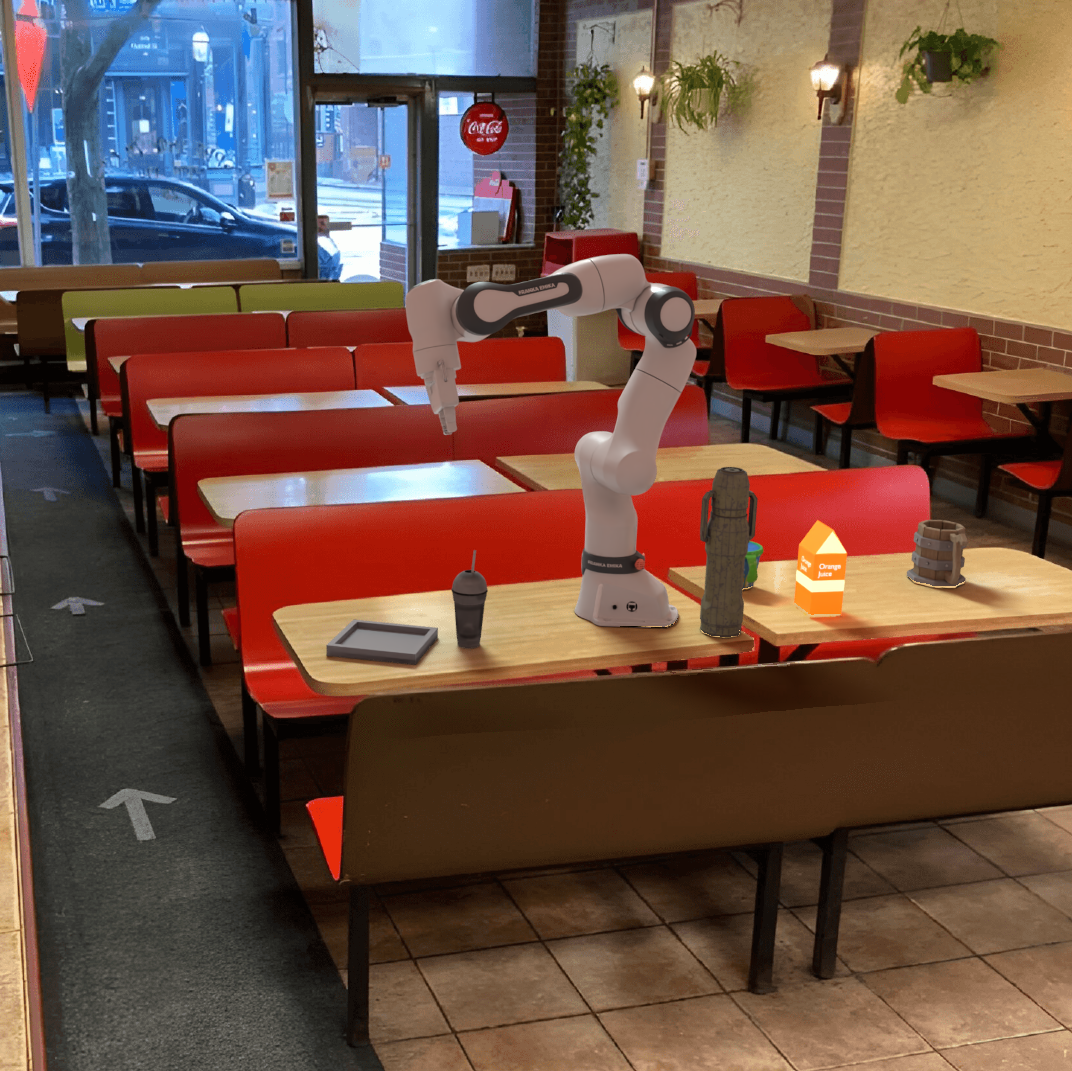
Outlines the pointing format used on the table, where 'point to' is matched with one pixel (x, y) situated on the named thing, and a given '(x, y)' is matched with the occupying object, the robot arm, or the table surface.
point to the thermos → (726, 550)
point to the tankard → (938, 553)
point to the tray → (382, 642)
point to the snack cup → (751, 564)
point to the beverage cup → (469, 606)
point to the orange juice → (820, 571)
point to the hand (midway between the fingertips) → (450, 433)
